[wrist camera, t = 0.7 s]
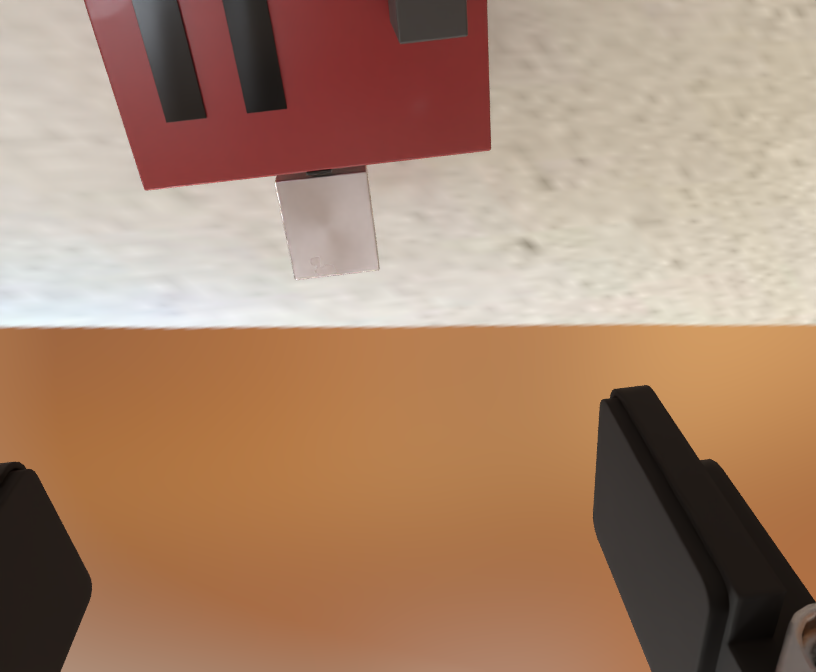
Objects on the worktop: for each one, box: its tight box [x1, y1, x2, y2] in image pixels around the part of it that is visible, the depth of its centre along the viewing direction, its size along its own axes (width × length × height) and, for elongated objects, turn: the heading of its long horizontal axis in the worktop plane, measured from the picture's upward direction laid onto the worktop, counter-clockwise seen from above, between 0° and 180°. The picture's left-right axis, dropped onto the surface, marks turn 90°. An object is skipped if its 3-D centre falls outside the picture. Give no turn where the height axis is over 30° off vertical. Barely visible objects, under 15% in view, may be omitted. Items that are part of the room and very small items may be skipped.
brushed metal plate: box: [275, 165, 379, 280], centre depth 23 cm, size 4×3×1 cm
